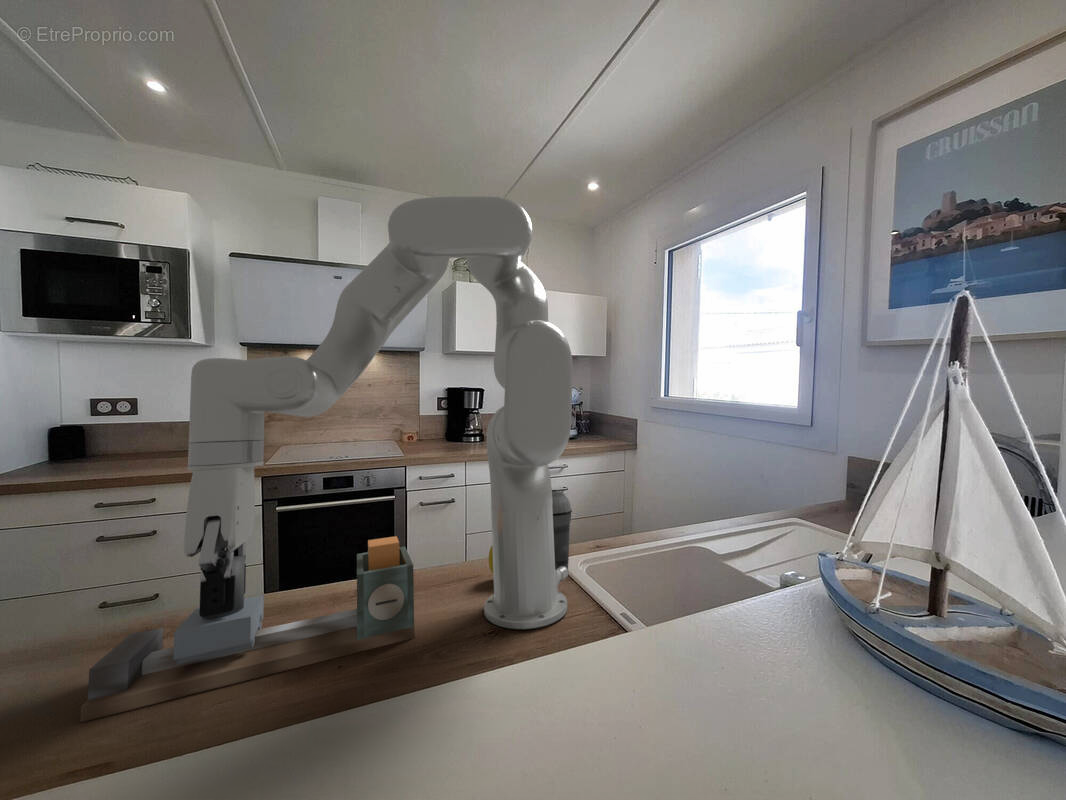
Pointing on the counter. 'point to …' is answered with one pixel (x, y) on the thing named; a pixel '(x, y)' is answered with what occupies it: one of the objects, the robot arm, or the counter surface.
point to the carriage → (221, 625)
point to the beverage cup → (561, 528)
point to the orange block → (383, 553)
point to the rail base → (235, 670)
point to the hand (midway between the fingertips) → (223, 603)
